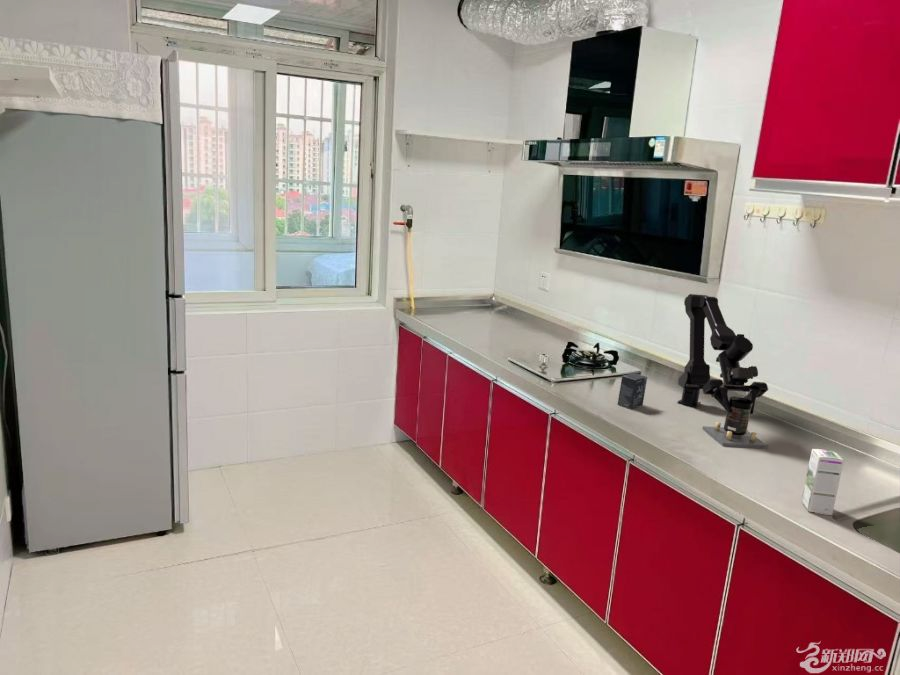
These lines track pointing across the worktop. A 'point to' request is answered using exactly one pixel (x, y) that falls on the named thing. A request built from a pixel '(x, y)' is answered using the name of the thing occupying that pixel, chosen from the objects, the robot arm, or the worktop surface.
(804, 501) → the syrup box
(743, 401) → the supplement container
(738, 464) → the worktop surface
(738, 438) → the plate
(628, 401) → the box
